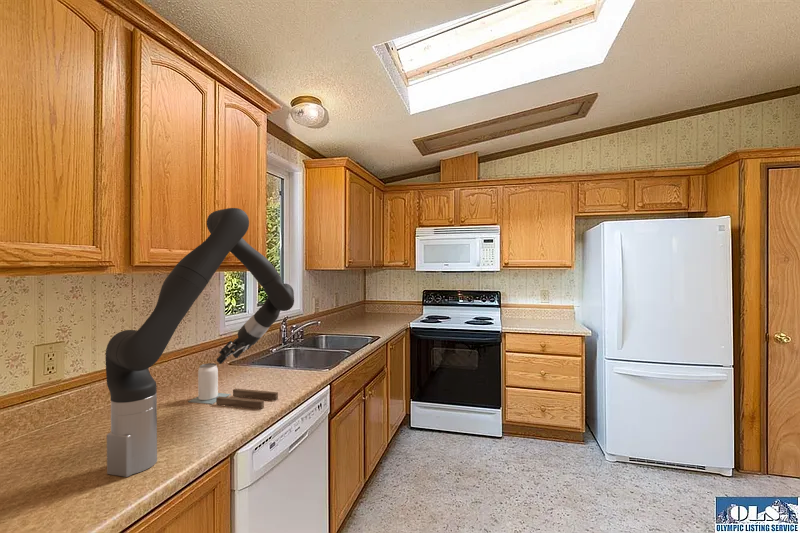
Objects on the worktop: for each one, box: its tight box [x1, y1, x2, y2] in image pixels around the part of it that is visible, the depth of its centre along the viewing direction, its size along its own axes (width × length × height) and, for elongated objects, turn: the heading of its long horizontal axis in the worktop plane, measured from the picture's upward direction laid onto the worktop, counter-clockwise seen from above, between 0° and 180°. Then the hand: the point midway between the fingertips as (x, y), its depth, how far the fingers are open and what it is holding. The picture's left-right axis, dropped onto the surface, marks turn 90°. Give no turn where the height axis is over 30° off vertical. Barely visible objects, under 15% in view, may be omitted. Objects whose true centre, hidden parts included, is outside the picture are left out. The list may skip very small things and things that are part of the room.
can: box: [197, 362, 219, 400], centre depth 139 cm, size 6×6×12 cm
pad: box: [187, 392, 232, 405], centre depth 139 cm, size 10×10×1 cm
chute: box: [215, 388, 279, 410], centre depth 135 cm, size 10×18×2 cm, turn 76°
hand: (226, 359), depth 137 cm, fingers open, 8 cm apart
